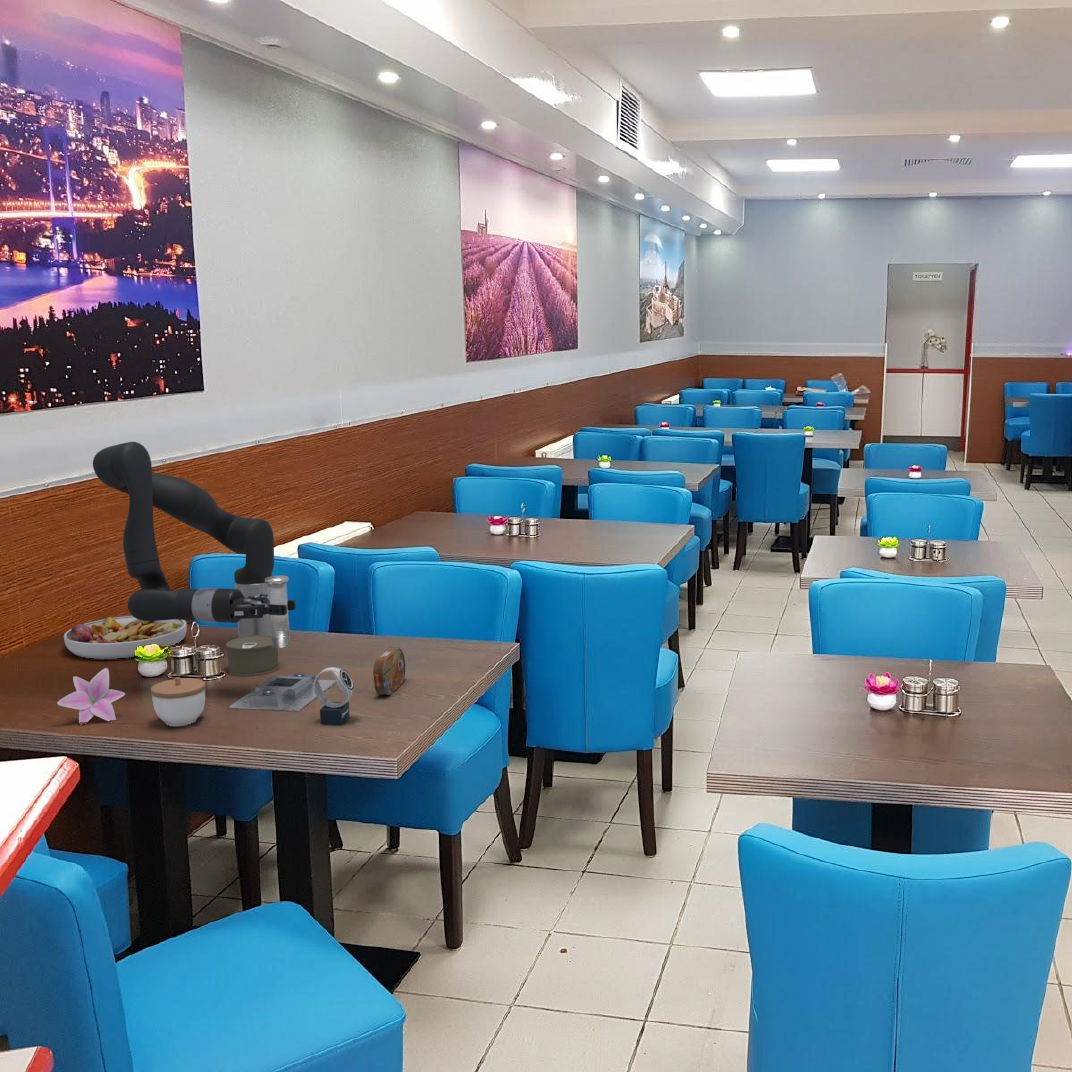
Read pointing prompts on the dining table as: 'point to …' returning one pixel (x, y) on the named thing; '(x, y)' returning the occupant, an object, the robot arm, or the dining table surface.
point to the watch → (334, 710)
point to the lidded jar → (179, 700)
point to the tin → (389, 671)
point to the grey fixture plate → (283, 693)
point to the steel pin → (278, 622)
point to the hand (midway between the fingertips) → (290, 607)
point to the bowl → (121, 636)
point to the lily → (92, 697)
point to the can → (252, 656)
